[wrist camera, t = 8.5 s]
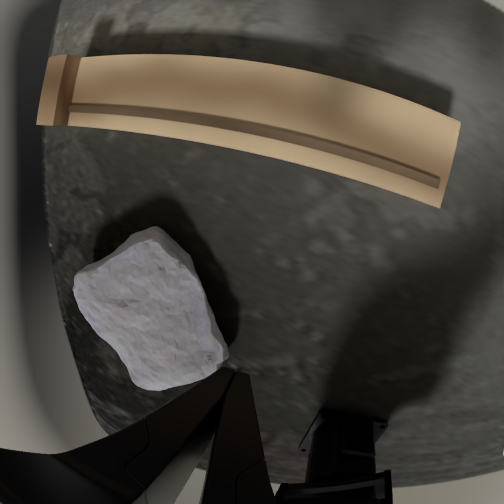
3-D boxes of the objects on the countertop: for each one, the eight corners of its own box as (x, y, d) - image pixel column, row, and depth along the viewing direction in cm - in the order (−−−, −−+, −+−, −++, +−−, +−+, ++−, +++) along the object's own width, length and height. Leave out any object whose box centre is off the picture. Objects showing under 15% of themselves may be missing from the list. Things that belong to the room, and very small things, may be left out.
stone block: (173, 206, 23) (83, 269, 24) (152, 215, 18) (53, 288, 20) (254, 333, 25) (160, 375, 27) (252, 367, 21) (145, 409, 22)
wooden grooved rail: (425, 201, 17) (449, 213, 13) (72, 123, 20) (36, 124, 17) (444, 125, 15) (472, 120, 11) (84, 64, 19) (49, 57, 15)
